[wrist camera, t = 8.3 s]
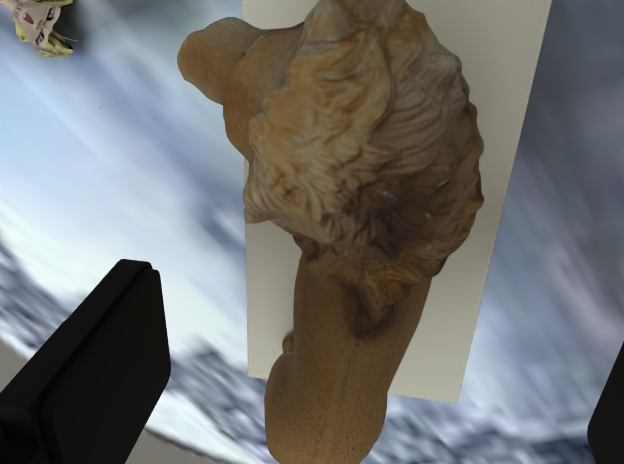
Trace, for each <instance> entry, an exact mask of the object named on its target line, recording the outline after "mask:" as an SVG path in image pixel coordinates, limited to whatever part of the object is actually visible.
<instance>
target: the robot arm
mask: <svg viewBox="0 0 624 464" xmlns="http://www.w3.org/2000/svg"><path fill="white" fill-rule="evenodd" d="M170 373H171V361H170V353H169V345H168V337H167V328H166V320H165V312H164V304H163V295H162V287H161V279H160V273H159V271H158V270H154V269H153V268H152V265H151V264H150V263H149V262H145V261H137V260H128V259H121V260H120V261H118V262H117V263H116V265H115V266H114V267H113V268H112V269H111V270H110V271H109V272H108V274H107V275H106V276H105V277H104V278H103V279H102V280H101V282H100V283H99V284H98V285H97V286H96V287H95V288H94V289H93V291H92V292H91V293H90V294H89V295H88V296H87V297H86V298H85V300H84V301H83V302H82V303H81V304H80V305H79V306H78V307H77V309H76V310H75V311H74V312H73V313H72V314H71V315H70V317H69V318H68V319H66V320H65V321H64V322H63V323H62V324H61V325H60V326H59V328H58V329H57V330H56V331H55V332H54V333H53V334H52V335H51V337H50V338H49V339H48V340H47V341H46V342H45V343H44V344H43V346H42V347H41V348H40V349H39V350H38V351H37V352H36V353H35V355H34V356H33V357H32V358H31V359H30V360H29V361H28V362H27V364H26V365H25V366H24V367H23V368H22V369H21V370H20V372H19V373H18V374H17V375H16V376H15V377H14V378H13V379H12V380H11V382H10V383H9V384H8V385H7V386H6V387H5V389H4V390H3V391H2V392H1V393H0V464H125V462H126V460H127V458H128V456H129V454H130V453H131V451H132V449H133V447H134V445H135V443H136V441H137V439H138V438H139V436H140V434H141V432H142V430H143V428H144V426H145V424H146V423H147V421H148V419H149V417H150V415H151V413H152V411H153V409H154V407H155V406H156V404H157V402H158V400H159V398H160V396H161V394H162V392H163V390H164V389H165V387H166V385H167V383H168V380H169V377H170ZM587 437H588V442H589V446H590V448H591V451H592V454H593V457H594V459H595V462H596V464H624V342H623V345H622V347H621V349H620V352H619V354H618V356H617V359H616V361H615V363H614V366H613V368H612V370H611V373H610V375H609V378H608V380H607V382H606V385H605V387H604V389H603V392H602V394H601V396H600V399H599V401H598V403H597V406H596V408H595V410H594V413H593V415H592V417H591V420H590V422H589V425H588V430H587Z"/></svg>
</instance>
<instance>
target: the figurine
mask: <svg viewBox="0 0 624 464" xmlns="http://www.w3.org/2000/svg"><path fill="white" fill-rule="evenodd" d="M0 3H1V4H2V5H3V6H5V7H6V8H7V9H8V10H10V11H11V12H12V13H13V15H14V16H12V17H13V21H14V22H16V33H17V35H18V36H19V37H20V40H21V42H32V43H33V46H35V47H41V48H50V49H51V51H49V50H45V49H34V51H35V52H41V53H40V56H49V55H51V56H49V57H55V56H60V57H64V58H68V57H69V55H68V53H72V52H73V48H72V47H71V46H70V45H69V44H68V43H67V42H66V41H65V40H64V39H63V38H64V37H63V38H62V37H61V36H60V35H59V34H58V33H57V32H55V31H54V30H53V29H52V26H53V24H54V23H55V22H56V21H57V19H58V18H59V15H60V10H61V8H59V7H62V6H68V5H71V4H72V3H73V0H16V1H14V0H0ZM66 39H68V38H66ZM70 40H71V39H70ZM74 41H77V40H74ZM85 41H86V40H85ZM62 44H64V45H65V46H66V47H67V48H68V49H66V48H63V46H62ZM57 50H58V51H59V52H60V53H59V54H55V53H56V52H57ZM98 109H100V107H98Z"/></svg>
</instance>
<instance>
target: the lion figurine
mask: <svg viewBox="0 0 624 464" xmlns="http://www.w3.org/2000/svg"><path fill="white" fill-rule="evenodd" d="M177 63H178V67H179V70H180V72H181V74H182V76H183V78H184V79H185V80H186V81H188V82H190V83H192V84H193V85H194V86H196V87H197V88H198V89H199V90H200V91H201V92H202V93H203V94H204V95H205V96H206V97H207V98H209V99H210V100H212V101H214V102H216V103H219V104H221V105H223V117H224V120H225V127H226V134H227V137H228V139H229V140H230V142H231V143H232V144H233V146H234V147H235V148H236V149H237V150H238V151H239V152H240V153H241V154H242V155H243V156H244V157H245V158H246V159H247V161H248V162H249V174H248V178H247V182H246V184H245V187H244V189H243V201H244V204H245V208H244V217H245V222H246V223H247V224H257V223H261V222H264V221H268V220H270V221H271V222H272V223H273V224H275V225H277V226H279V227H281V228H282V229H283V230H285V231H286V232H288V233H289V234H291V235H292V236H293V238H294V241H295V243H296V244H297V245H298V246H299V248H300V249H301V251H302V254H301V257H300V261H299V265H298V270H297V275H296V280H295V287H294V305H293V328H294V332H293V333H290V334H289V335H287V336H286V337H285V338H284V339H283V341H282V350H283V354H281V355H280V356H279V357H278V359H277V360H276V361H275V363H274V364H273V366H272V368H271V371H270V374H269V378H268V381H267V385H266V390H265V397H264V403H265V430H266V442H267V446H268V449H269V452H270V454H271V455H272V456H273V458H274V459H275V460H276V461H278V462H279V463H280V464H360V462H361V461H362V460H363V459H364V458H365V457H366V456H367V455H368V453H369V452H370V450H371V448H372V447H373V445H374V444H375V442H376V441H377V439H378V437H379V435H380V433H381V431H382V427H383V424H384V420H385V415H386V410H387V393H388V390H389V388H390V385H391V383H392V381H393V378H394V376H395V374H396V372H397V370H398V368H399V365H400V363H401V361H402V359H403V357H404V355H405V352H406V350H407V348H408V346H409V344H410V341H411V339H412V337H413V335H414V333H415V331H416V328H417V326H418V324H419V321H420V319H421V315H422V312H423V309H424V306H425V302H426V299H427V296H428V293H429V289H430V286H431V281H432V277H435V276H436V275H437V274H439V273H440V271H441V270H442V268H443V267H444V265H445V262H446V260H447V258H448V257H449V255H451V254H452V253H454V252H455V251H456V250H458V248H459V247H460V246H461V245H462V244H463V243H464V241H465V240H466V239H467V237H468V236H469V234H470V231H471V227H472V226H473V224H474V221H475V217H476V213H477V210H479V209H480V208H481V207H482V205H483V203H484V197H483V194H482V192H481V191H482V187H481V174H480V171H479V158H480V156H481V155H482V153H483V151H484V141H483V139H482V137H481V135H480V133H479V130H478V125H477V114H478V112H477V108H476V106H475V105H474V104H472V103H471V102H470V101H469V93H470V88H469V85H468V84H467V82H466V80H465V78H464V76H463V75H462V63H461V61H460V58H459V57H458V56H457V55H455V54H453V53H451V52H450V51H449V50H448V49H447V48H446V47H444V46H443V45H441V44H439V41H438V39H437V37H436V36H435V34H434V33H433V31H432V30H431V28H430V27H429V25H428V23H427V21H426V18H425V15H424V13H421V12H419V11H416V10H414V9H413V8H412V7H411V6H410V5H409V4H408V3H407V2H406V0H319V1H318V3H317V4H316V5H315V6H314V7H313V9H312V10H311V11H310V12H309V13H308V14H307V16H306V18H305V21H303V22H301V23H299V24H297V25H295V26H293V27H289V28H279V29H260V28H257V27H254V26H252V25H250V24H249V23H247V22H245V21H244V20H241V19H238V18H235V17H226V18H223V19H220V20H218V21H216V22H214V23H212V24H210V25H209V26H207V27H206V28H205V29H203V30H199V31H195V32H193V33H191V34H190V35H189V36H188V37H187V38H186V40H185V41H184V42H183V44H182V46H181V48H180V50H179V52H178V56H177Z"/></svg>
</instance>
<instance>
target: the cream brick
mask: <svg viewBox="0 0 624 464" xmlns="http://www.w3.org/2000/svg"><path fill="white" fill-rule="evenodd" d="M318 1H319V0H242V20H244V21H245V22H247V23H249V24H250V25H252V26H254V27H257V28H260V29H279V28H289V27H293V26H295V25H297V24H299V23H301V22H303V21H305V18H306V16H307V14H308V13H309V12H310V11H311V10H312V9H313V7H314V6H315V5H316V4H317V3H318ZM406 2H407V3H408V4H409V5H410V6H411V7H412V8H413V9H414V10H416V11H419V12H421V13H424V15H425V18H426V21H427V23H428V25H429V27H430V28H431V30H432V31H433V33H434V34H435V36H436V37H437V39H438V41H439V44H441V45H443V46H444V47H446V48H447V49H448V50H449V51H450V52H451V53H453V54H455V55H457V56H458V57H459V58H460V61H461V63H462V75H463V76H464V78H465V80H466V82H467V84H468V85H469V88H470V93H469V101H470V102H471V103H472V104H474V105H475V106H476V108H477V112H478V114H477V125H478V130H479V133H480V135H481V137H482V139H483V141H484V151H483V153H482V155H481V156H480V158H479V171H480V174H481V187H482V191H481V192H482V194H483V197H484V203H483V205H482V207H481V208H480V209H479V210H477V213H476V217H475V221H474V224H473V226H472V227H471V231H470V234H469V236H468V237H467V239H466V240H465V241H464V243H463V244H462V245H461V246H460V247H459V248H458V250H456V251H455V252H454V253H452V254H451V255H449V257H448V258H447V260H446V262H445V265H444V267H443V268H442V270H441V271H440V273H439V274H437V275H436V276H435V277H432V281H431V286H430V289H429V293H428V296H427V299H426V302H425V306H424V309H423V312H422V315H421V319H420V321H419V324H418V326H417V328H416V331H415V333H414V335H413V337H412V339H411V341H410V344H409V346H408V348H407V350H406V352H405V355H404V357H403V359H402V361H401V363H400V365H399V368H398V370H397V372H396V374H395V376H394V378H393V381H392V383H391V385H390V388H389V390H388V393H387V394H389V395H397V396H405V397H412V398H420V399H428V400H436V401H444V402H451V403H458V399H459V394H460V390H461V386H462V382H463V377H464V373H465V369H466V364H467V360H468V356H469V352H470V347H471V343H472V339H473V335H474V330H475V326H476V322H477V318H478V313H479V309H480V305H481V300H482V296H483V292H484V288H485V283H486V279H487V275H488V271H489V266H490V262H491V258H492V254H493V249H494V245H495V241H496V236H497V232H498V228H499V224H500V219H501V215H502V211H503V207H504V202H505V198H506V194H507V190H508V185H509V181H510V177H511V172H512V168H513V164H514V160H515V155H516V151H517V147H518V143H519V138H520V134H521V130H522V126H523V121H524V117H525V113H526V108H527V104H528V100H529V96H530V91H531V87H532V83H533V79H534V74H535V70H536V66H537V62H538V57H539V53H540V49H541V44H542V40H543V36H544V32H545V27H546V23H547V19H548V15H549V10H550V6H551V2H552V0H406ZM244 166H245V184H246V182H247V178H248V174H249V162H248V161H247V159H246V158H245V157H244ZM245 225H246V284H247V343H248V377H256V378H264V379H268V378H269V374H270V371H271V368H272V366H273V364H274V363H275V361H276V360H277V359H278V357H279V356H280V355H281V354H283V350H282V341H283V339H284V338H285V337H286V336H287V335H289V334H290V333H293V332H294V328H293V305H294V287H295V280H296V275H297V270H298V265H299V261H300V257H301V254H302V251H301V249H300V248H299V246H298V245H297V244H296V243H295V241H294V238H293V236H292V235H291V234H289V233H288V232H286V231H285V230H283V229H282V228H281V227H279V226H277V225H275V224H273V223H272V222H271V221H270V220H268V221H264V222H261V223H257V224H247V223H246V222H245Z"/></svg>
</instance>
